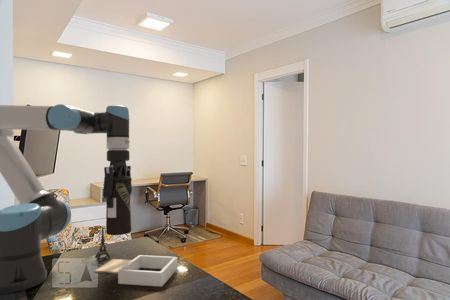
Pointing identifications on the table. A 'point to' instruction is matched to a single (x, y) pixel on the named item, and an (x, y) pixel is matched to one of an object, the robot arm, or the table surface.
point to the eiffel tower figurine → (99, 253)
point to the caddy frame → (148, 278)
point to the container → (120, 208)
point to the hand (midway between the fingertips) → (118, 214)
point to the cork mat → (112, 266)
